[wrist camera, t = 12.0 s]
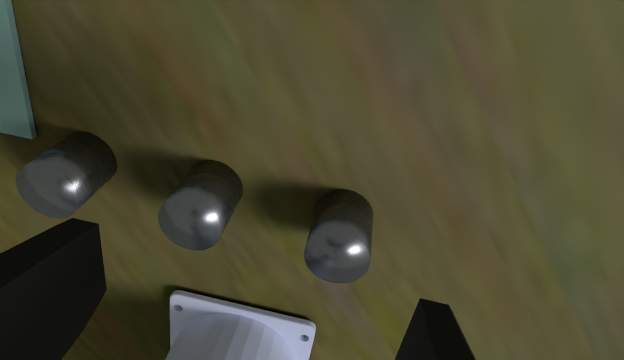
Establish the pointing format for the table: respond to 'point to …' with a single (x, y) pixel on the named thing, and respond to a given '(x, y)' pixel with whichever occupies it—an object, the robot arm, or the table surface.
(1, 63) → the mat
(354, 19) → the table surface
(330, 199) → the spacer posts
